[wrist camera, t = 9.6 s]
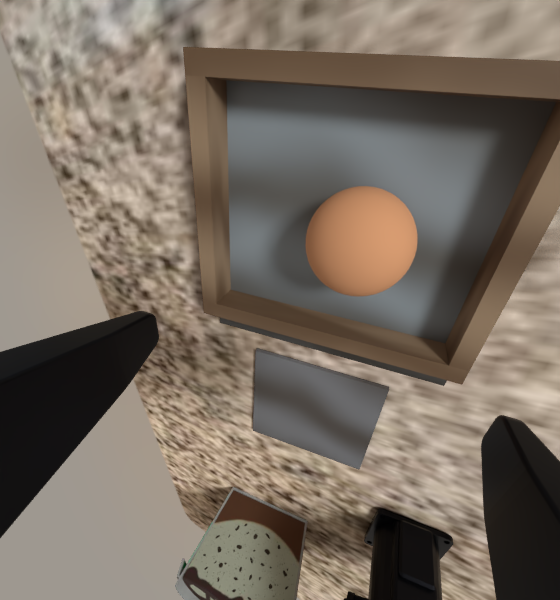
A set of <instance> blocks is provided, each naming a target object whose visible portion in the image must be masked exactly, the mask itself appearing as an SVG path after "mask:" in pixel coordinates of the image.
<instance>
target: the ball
mask: <svg viewBox="0 0 560 600" xmlns="http://www.w3.org/2000/svg"><path fill="white" fill-rule="evenodd" d="M305 246H306V254H307V258H308V262H309V264H310V266H311V268H312V270H313V272H314V273H315V275H316V276H317V277H318V279H319V280H320V281H321V282H322V283H324V284H325V285H326V286H327V287H329V288H330V289H332V290H334V291H336V292H338V293H341V294H344V295H349V296H357V297H359V296H369V295H374V294H377V293H380V292H383V291H385V290H387V289H388V288H390V287H392V286H393V285H394V284H396V283H397V282H398V281H399V280H400V279H401V278H402V277H403V276H404V275H405V274H406V272H407V271H408V269H409V268H410V266H411V264H412V262H413V259H414V257H415V254H416V250H417V228H416V224H415V221H414V218H413V216H412V214H411V212H410V211H409V209H408V208H407V206H406V205H405V204H404V203H403V202H402V201H401V200H400V199H399V198H398V197H396V196H395V195H393V194H392V193H390V192H388V191H385V190H383V189H380V188H377V187H370V186H357V187H351V188H348V189H345V190H342V191H340V192H338V193H336V194H334V195H332V196H331V197H330V198H328V199H327V200H326V201H325V202H324V203H323V204H322V205H321V206H320V207H319V208H318V209H317V210H316V212H315V214H314V215H313V217H312V219H311V221H310V223H309V226H308V229H307V233H306V244H305Z"/></svg>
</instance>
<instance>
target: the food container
mask: <svg viewBox="0 0 560 600" xmlns="http://www.w3.org/2000/svg"><path fill="white" fill-rule="evenodd" d="M307 523H308V521H306V520H304V519H302V518H300V517H298V516H296V515H293V514H291V513H289V512H287V511H285V510H283V509H280V508H278V507H276V506H274V505H272V504H269V503H267V502H265V501H263V500H261V499H259V498H256V497H254V496H252V495H250V494H248V493H246V492H243V491H241V490H239V489H237V488H235V487H232V489H231V491H230V492H229V494H228V496H227V498H226V499H225V501H224V503H223V504H222V506H221V508H220V509H219V511H218V513H217V514H216V516H215V518H214V519H213V521H212V523H211V525H210V526H209V528H208V530H207V531H206V533H205V535H204V536H203V538H202V540H201V542H200V543H199V545H198V547H197V548H196V550H195V552H194V553H193V555H192V557H191V558H190V560H189V562H188V563H187V564H186V562H185V559H184V558H183V559H182V562H181V565H180V569H179V571H178V574H177V578H178V581H177V583H176V585H175V587H176V590H177V591H178V593H179V594H180V595H181V596H182V598H183V599H184V600H296V598H297V591H298V584H299V577H300V570H301V564H302V557H303V550H304V543H305V536H306V530H307Z"/></svg>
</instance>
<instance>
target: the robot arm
mask: <svg viewBox="0 0 560 600" xmlns="http://www.w3.org/2000/svg"><path fill="white" fill-rule="evenodd" d="M158 339H159V334H158V328H157V323H156V318H155V316H154V315H153V314H151V313H148V312H144V311H138V312H134V313H131V314H128V315H124V316H121V317H117V318H114V319H111V320H108V321H104V322H100V323H97V324H94V325H90V326H87V327H84V328H80V329H77V330H73V331H70V332H67V333H63V334H60V335H56V336H53V337H50V338H47V339H43V340H40V341H36V342H33V343H29V344H26V345H22V346H19V347H16V348H13V349H9V350H5V351H2V352H0V538H1V537H2V535H3V534H4V533H5V532H6V531H7V530H8V528H9V527H10V526H11V525H12V524H13V522H14V521H15V520H16V519H17V518H18V516H19V515H20V514H21V513H22V512H23V511H24V509H25V508H26V507H27V506H28V505H29V503H30V502H31V501H32V500H33V499H34V497H35V496H36V495H37V494H38V493H39V491H40V490H41V489H42V488H43V487H44V485H45V484H46V483H47V482H48V481H49V480H50V478H51V477H52V476H53V475H54V474H55V472H56V471H57V470H58V469H59V468H60V466H61V465H62V464H63V463H64V462H65V460H66V459H67V458H68V457H69V456H70V454H71V453H72V452H73V451H74V450H75V449H76V447H77V446H78V445H79V444H80V443H81V441H82V440H83V439H84V438H85V437H86V435H87V434H88V433H89V432H90V431H91V429H92V428H93V427H94V426H95V425H96V424H97V422H98V421H99V420H100V419H101V418H102V416H103V415H104V414H105V413H106V412H107V410H108V409H109V408H110V407H111V406H112V404H113V403H114V402H115V401H116V400H117V399H118V397H119V396H120V395H121V394H122V393H123V391H124V390H125V389H126V387H127V386H128V385H129V384H130V382H131V381H132V379H133V378H134V377H135V375H136V374H137V372H138V371H139V369H140V368H141V366H142V365H143V363H144V362H145V361H146V359H147V358H148V356H149V355H150V353H151V352H152V350H153V349H154V347H155V346H156V344H157V342H158ZM481 454H482V481H483V507H484V520H485V527H486V534H487V541H488V547H489V554H490V560H491V567H492V573H493V580H494V586H495V593H496V600H560V461H559V460H558V459H557V458H556V457H555V456H554V455H553V453H552V452H551V451H550V450H549V449H548V448H547V447H546V446H545V445H544V444H543V443H542V442H541V441H540V439H539V438H538V437H537V436H536V435H535V434H534V433H533V432H532V431H531V430H530V429H529V428H528V426H527V425H526V424H525V423H523V422H522V421H520V420H518V419H514V418H511V417H507V416H504V415H500V416H498V417H497V418H496V419H495V421H494V422H493V424H492V425H491V426H490V428H489V429H488V431H487V432H486V434H485V435H484V437H483V440H482V444H481ZM364 541H365V543H367V544H369V545H371V546H373V549H372V561H371V573H370V585H369V597H368V599H366V598H363V597H360V596H357V595H355V593H352V592H349V591H348V595H347V598H346V599H344V600H442V588H441V574H440V559H441V558H442V557H443V556H444V554H445V553H446V552H447V551H448V550H449V549H450V548H451V546H452V545H453V538H452V537H451V536H449V535H447V534H445V533H442V532H440V531H437V530H434V529H432V528H429V527H427V526H424V525H422V524H419V523H417V522H414V521H411V520H409V519H406V518H404V517H401V516H399V515H396V514H394V513H391V512H389V511H386V510H383V509H378V510H377V512H376V514H375V516H374V518H373V520H372V522H371V524H370V526H369V528H368V531H367V533H366V535H365V540H364Z"/></svg>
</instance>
